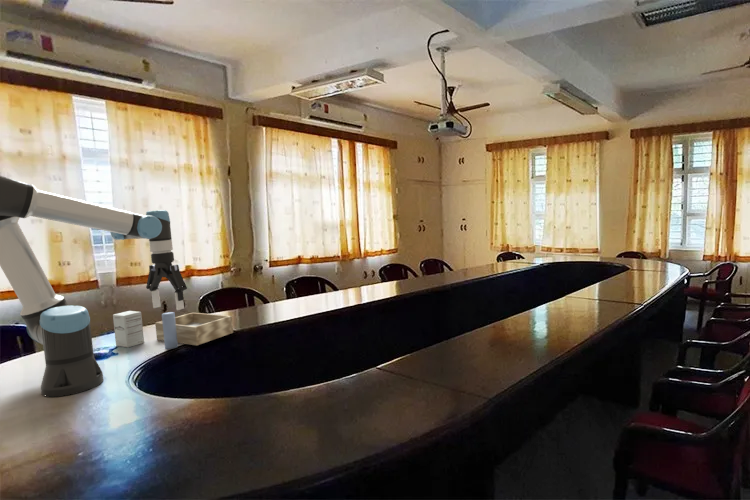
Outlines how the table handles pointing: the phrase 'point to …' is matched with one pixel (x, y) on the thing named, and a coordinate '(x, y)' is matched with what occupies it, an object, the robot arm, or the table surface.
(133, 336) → the supplement box
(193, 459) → the table surface
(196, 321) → the crate
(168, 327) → the peg
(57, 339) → the robot arm
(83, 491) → the table surface
